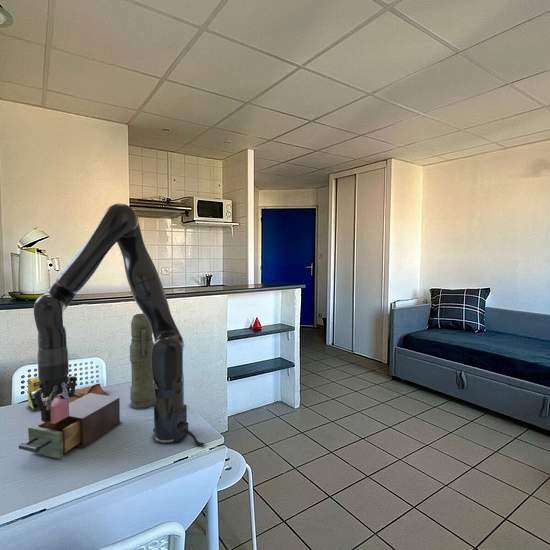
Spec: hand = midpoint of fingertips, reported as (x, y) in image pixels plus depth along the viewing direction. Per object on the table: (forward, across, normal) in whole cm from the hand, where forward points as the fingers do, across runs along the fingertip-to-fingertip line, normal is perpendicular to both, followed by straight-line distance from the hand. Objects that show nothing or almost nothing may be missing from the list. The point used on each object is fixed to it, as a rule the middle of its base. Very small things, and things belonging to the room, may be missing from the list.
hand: (55, 417), depth 103 cm
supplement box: (+10, +20, +31) cm, 39 cm away
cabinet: (+10, +11, 0) cm, 15 cm away
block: (0, 0, 0) cm, 0 cm away
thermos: (+11, +34, -4) cm, 36 cm away
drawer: (+9, +1, 0) cm, 9 cm away
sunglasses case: (+10, +29, +21) cm, 38 cm away
